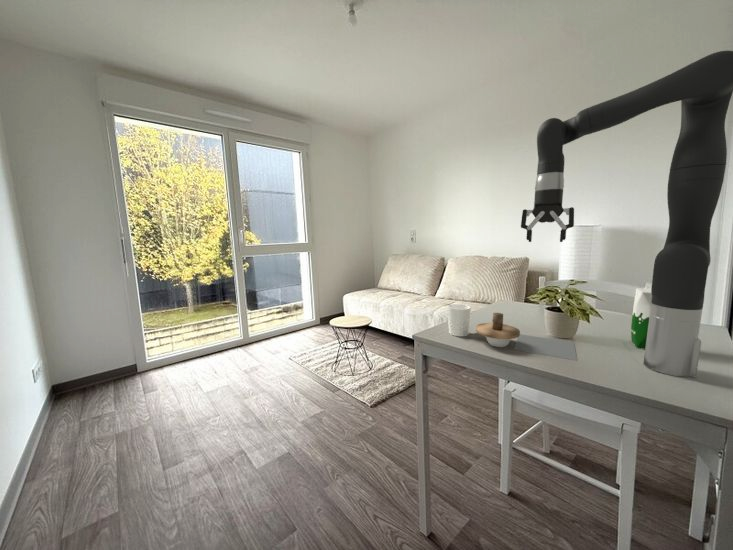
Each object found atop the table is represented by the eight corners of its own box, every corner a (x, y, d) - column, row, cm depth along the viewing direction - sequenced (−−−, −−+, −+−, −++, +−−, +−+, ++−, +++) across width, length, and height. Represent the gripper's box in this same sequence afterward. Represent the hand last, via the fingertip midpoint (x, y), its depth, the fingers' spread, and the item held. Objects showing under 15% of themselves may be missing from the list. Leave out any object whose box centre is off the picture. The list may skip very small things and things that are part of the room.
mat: (573, 343, 97) (573, 342, 97) (577, 362, 84) (577, 360, 84) (518, 335, 106) (518, 333, 106) (513, 351, 92) (513, 349, 92)
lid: (521, 329, 99) (522, 311, 98) (517, 342, 88) (518, 322, 87) (480, 323, 106) (481, 307, 105) (471, 334, 95) (472, 316, 94)
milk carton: (673, 354, 89) (682, 287, 86) (633, 348, 93) (640, 285, 90) (663, 344, 96) (671, 283, 93) (626, 339, 101) (633, 280, 98)
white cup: (444, 335, 107) (445, 308, 106) (449, 328, 114) (450, 303, 113) (467, 338, 103) (468, 310, 102) (471, 331, 110) (472, 305, 109)
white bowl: (521, 348, 95) (522, 334, 94) (501, 355, 90) (502, 340, 89) (493, 338, 104) (494, 325, 103) (474, 344, 99) (474, 331, 98)
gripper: (576, 188, 92) (571, 241, 95) (524, 192, 100) (521, 241, 102) (577, 185, 86) (572, 242, 88) (522, 190, 93) (519, 242, 96)
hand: (545, 241), depth 95 cm, fingers open, 8 cm apart
